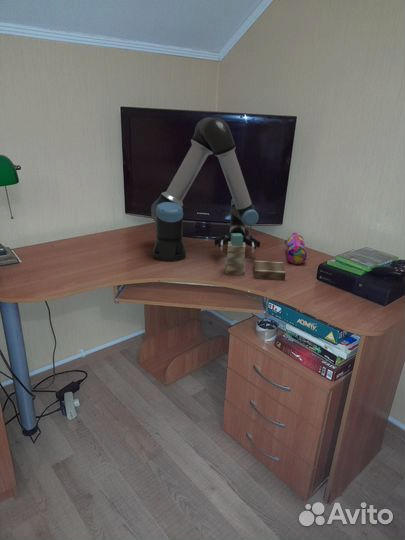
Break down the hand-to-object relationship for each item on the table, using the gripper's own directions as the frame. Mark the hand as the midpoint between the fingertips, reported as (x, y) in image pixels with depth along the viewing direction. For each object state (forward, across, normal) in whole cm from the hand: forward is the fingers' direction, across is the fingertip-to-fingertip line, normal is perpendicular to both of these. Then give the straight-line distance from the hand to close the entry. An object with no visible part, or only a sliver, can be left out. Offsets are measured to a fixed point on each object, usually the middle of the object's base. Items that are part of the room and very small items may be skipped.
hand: (237, 248), depth 166 cm
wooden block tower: (+8, +1, -7) cm, 11 cm away
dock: (+8, -13, -7) cm, 17 cm away
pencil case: (-15, -27, -8) cm, 32 cm away
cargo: (+8, +1, +5) cm, 9 cm away
